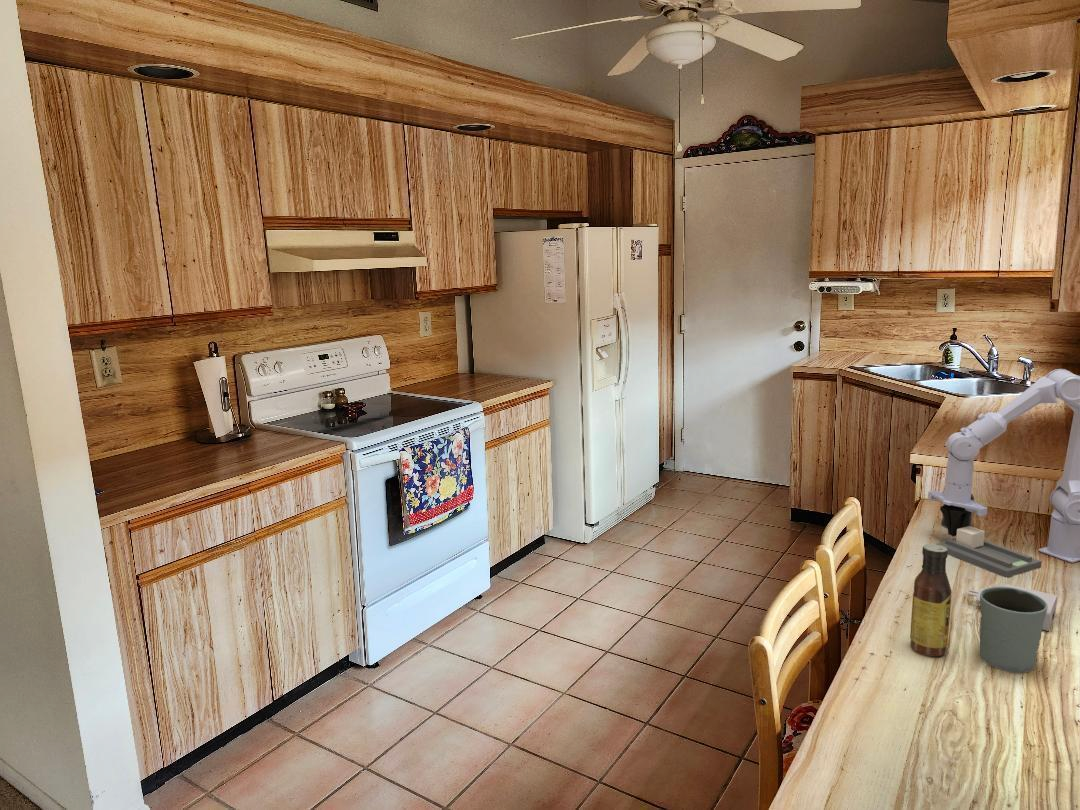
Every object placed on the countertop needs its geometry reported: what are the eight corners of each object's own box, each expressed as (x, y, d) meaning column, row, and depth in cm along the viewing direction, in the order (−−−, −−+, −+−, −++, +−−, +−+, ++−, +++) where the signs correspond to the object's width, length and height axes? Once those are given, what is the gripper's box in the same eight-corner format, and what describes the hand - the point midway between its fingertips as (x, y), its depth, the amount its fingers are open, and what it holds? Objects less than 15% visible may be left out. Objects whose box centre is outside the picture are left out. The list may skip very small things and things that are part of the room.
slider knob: (968, 539, 185) (969, 525, 184) (983, 545, 181) (984, 531, 181) (955, 543, 183) (957, 529, 182) (970, 548, 180) (972, 534, 179)
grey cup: (1038, 654, 137) (1046, 593, 135) (1041, 682, 129) (1049, 617, 126) (974, 640, 142) (980, 581, 140) (973, 666, 134) (979, 604, 131)
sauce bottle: (951, 659, 136) (961, 556, 132) (914, 656, 138) (923, 554, 133) (940, 641, 143) (949, 542, 138) (904, 638, 144) (912, 540, 140)
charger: (971, 594, 161) (1055, 615, 152) (961, 610, 154) (1048, 633, 145) (973, 574, 160) (1058, 593, 151) (963, 589, 153) (1051, 610, 144)
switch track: (968, 540, 189) (969, 531, 188) (1041, 567, 173) (1042, 557, 172) (935, 549, 184) (936, 539, 184) (1006, 577, 168) (1007, 567, 168)
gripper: (921, 476, 188) (916, 527, 191) (975, 493, 175) (969, 547, 178) (940, 472, 191) (936, 523, 194) (995, 488, 178) (989, 542, 181)
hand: (953, 534), depth 186 cm, fingers closed
